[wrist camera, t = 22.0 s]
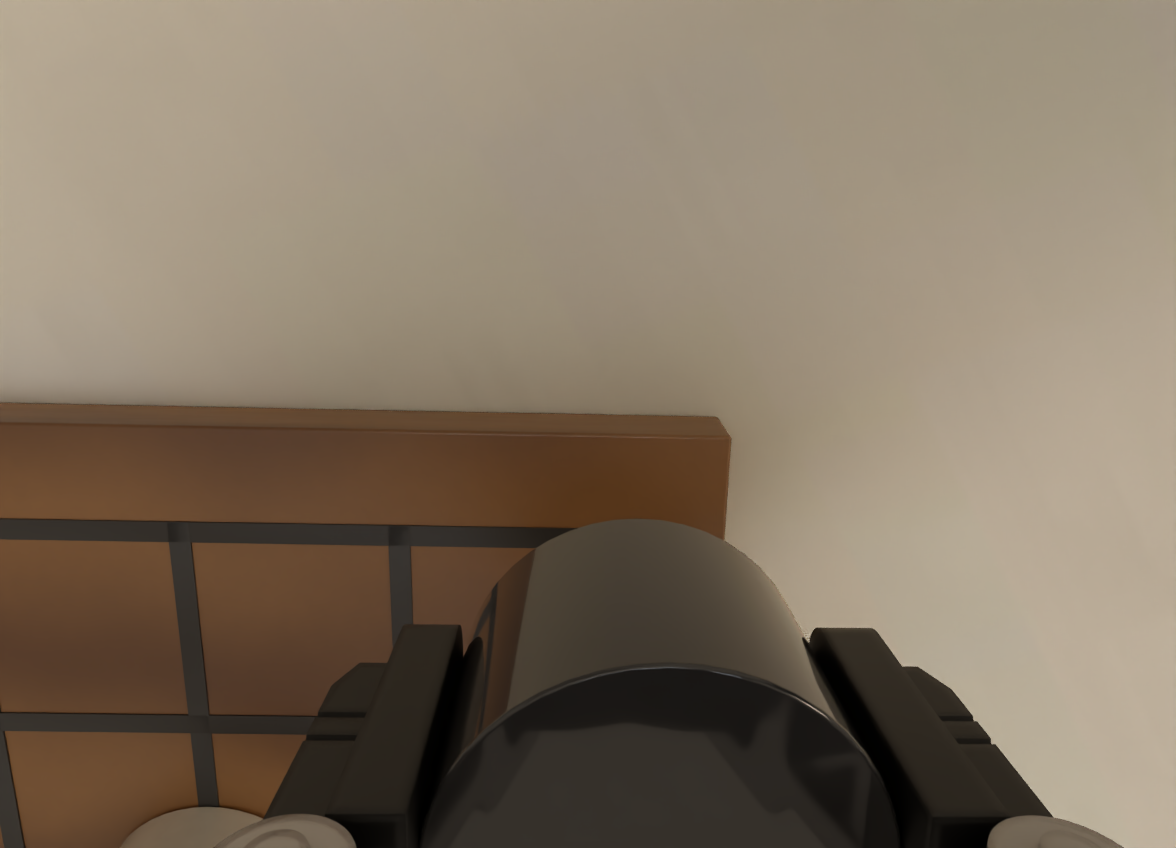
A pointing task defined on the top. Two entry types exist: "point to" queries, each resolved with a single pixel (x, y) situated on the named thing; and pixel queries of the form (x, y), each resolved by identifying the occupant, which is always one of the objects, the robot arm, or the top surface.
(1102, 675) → the top surface
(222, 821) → the ivory stone
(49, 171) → the top surface
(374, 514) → the board
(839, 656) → the robot arm
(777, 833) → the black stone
